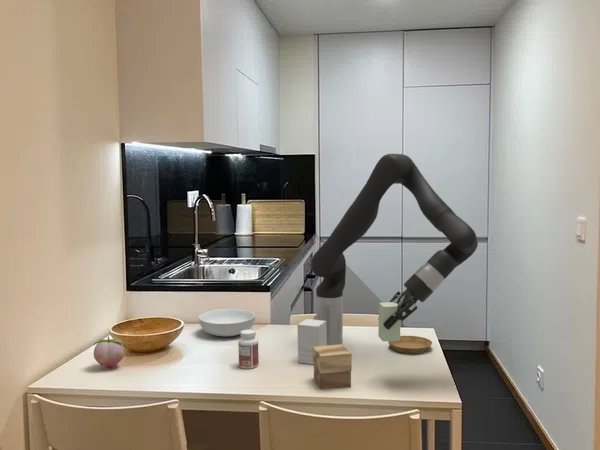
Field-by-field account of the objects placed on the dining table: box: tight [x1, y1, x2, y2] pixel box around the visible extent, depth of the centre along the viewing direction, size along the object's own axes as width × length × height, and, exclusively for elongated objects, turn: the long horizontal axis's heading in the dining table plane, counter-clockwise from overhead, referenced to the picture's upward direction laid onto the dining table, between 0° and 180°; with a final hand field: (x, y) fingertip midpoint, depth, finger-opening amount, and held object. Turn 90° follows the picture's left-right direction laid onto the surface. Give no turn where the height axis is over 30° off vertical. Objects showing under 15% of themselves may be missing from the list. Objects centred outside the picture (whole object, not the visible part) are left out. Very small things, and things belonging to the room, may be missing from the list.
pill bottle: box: [237, 329, 260, 370], centre depth 190 cm, size 6×6×11 cm
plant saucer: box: [387, 335, 433, 354], centre depth 207 cm, size 15×15×3 cm
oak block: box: [312, 344, 353, 374], centre depth 175 cm, size 9×9×5 cm
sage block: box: [377, 301, 401, 342], centre depth 174 cm, size 5×5×10 cm
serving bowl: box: [198, 308, 256, 338], centre depth 226 cm, size 21×21×7 cm
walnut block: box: [313, 365, 352, 390], centre depth 176 cm, size 9×9×5 cm
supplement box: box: [296, 318, 327, 365], centre depth 195 cm, size 7×7×13 cm
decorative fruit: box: [93, 336, 125, 369], centre depth 190 cm, size 9×8×10 cm
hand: (383, 324), depth 174 cm, fingers closed on sage block, 5 cm apart
